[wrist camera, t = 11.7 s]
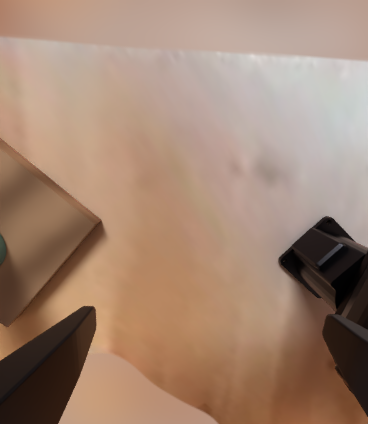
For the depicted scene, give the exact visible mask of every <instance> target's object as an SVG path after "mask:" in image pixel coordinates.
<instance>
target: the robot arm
mask: <svg viewBox="0 0 368 424" xmlns="http://www.w3.org/2000/svg"><path fill="white" fill-rule="evenodd" d="M327 220H329V222H328V223H327V224H326V222H327ZM284 259H286V261H284V262H283V260H284ZM279 262H280V264H281V265H282V266H284V267H285V268H286V269H287V270H288V271H289V272H290V273H291V274H292V275H293V276H294V277H295V278H296V279H298V280H299V281H300V282H301V283H302V284H303V285H304V286H305V287H306V288H307V289H308V290H309V291H310V292H312V293H313V294H314V295H315V296H316V297H317V298H323V299H324V300H325V301H326V302H327V303H328V304H329V305H330V306H331V307H332V308H333V309H334V310H335V311H336V313H335V314H329V315H327V316H326V319H325V323H324V327H323V331H322V334H323V338H324V340H325V342H326V344H327V346H328V348H329V351H330V353H331V355H332V356H333V359H334V361H335V363H336V366H335V369H336V371H337V373H338V375H339V376H340V377H341V378H342V379H343V381H344V383H345V384H346V386H347V387H348V388H349V390H350V391H351V392H352V393H353V394H354V395H355V397H356V399H357V400H358V402H359V404H360V405H361V407H362V408H363V410H364V412H365V413H366V415H367V416H368V248H367V247H365V246H363V245H361V244H358V243H356V242H355V241H354V240H353V239H352V238H351V237H350V236H349V235H348V234H347V233H346V232H345V231H344V229H343V228H342V227H341V226H340V225H339V224H338V223H337V222H336V221H335V220H334V219H333V218H331V217H329V216H326V217H323V218H322V219H321V220H320V221H319V222H318V223H317V224H316V225H314V226H313V227H312V228H310V229H309V230H308V231H307V232H306V233H305V234H304V235H303V236H302V237H300V238H299V239H298V240H297V241H296V242H295V243H294V244H293V245H292V246H291V247H290V248H289V249H288V250H287V251H286V252H285V253H284V254H282V255H281V256H280V257H279ZM95 331H96V310H95V307H94V306H83V307H81V308H80V309H78V310H77V311H75V312H74V313H72V314H71V315H69V316H68V317H66V318H65V319H63V320H62V321H60V322H59V323H57V324H55V325H54V326H52V327H51V328H49V329H48V330H46V331H45V332H43V333H42V334H40V335H39V336H37V337H36V338H34V339H33V340H31V341H30V342H28V343H27V344H25V345H24V346H22V347H21V348H19V349H18V350H16V351H14V352H13V353H11V354H10V355H8V356H7V357H5V358H4V359H2V360H1V361H0V424H58V423H59V421H60V418H61V416H62V414H63V412H64V410H65V408H66V405H67V403H68V401H69V399H70V397H71V394H72V392H73V390H74V388H75V386H76V383H77V381H78V379H79V376H80V374H81V371H82V368H83V365H84V363H85V360H86V357H87V354H88V351H89V348H90V345H91V342H92V339H93V337H94V334H95Z"/></svg>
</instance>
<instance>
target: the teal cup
mask: <svg viewBox="0 0 368 424" xmlns="http://www.w3.org/2000/svg"><path fill="white" fill-rule="evenodd" d="M5 257H6V246H5V242H4V240H3V238H2V236H1V235H0V266H1V264H2V263H3V262H4V260H5Z"/></svg>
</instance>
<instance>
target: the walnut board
mask: <svg viewBox="0 0 368 424" xmlns="http://www.w3.org/2000/svg"><path fill="white" fill-rule="evenodd" d="M100 221H101V219H99V218H98V217H97V216H96V215H94V214H93V213H92V212H91V211H90V210H88V209H87V208H86V207H85V206H83V205H82V204H81V203H80V202H78V201H77V200H76V199H75V198H73V197H72V196H71V195H70V194H69V193H67V192H66V191H65V190H64V189H62V188H61V187H60V186H59V185H57V184H56V183H55V182H54V181H52V180H51V179H50V178H49V177H48V176H46V175H45V174H44V173H43V172H41V171H40V170H39V169H38V168H36V167H35V166H34V165H33V164H32V163H30V162H29V161H28V160H27V159H25V158H24V157H23V156H22V155H20V154H19V153H18V152H17V151H15V150H14V149H13V148H12V147H11V146H9V145H8V144H7V143H6V142H4V141H3V140H2V139H1V138H0V235H1V236H2V238H3V240H4V242H5V246H6V257H5V260H4V262H3V263H2V264H1V266H0V323H1V324H3V325H4V326H6V327H8V326H9V325H11V324H12V323H13V322H14V321H15V320H16V319H17V318H18V317H19V316H20V315H21V313H22V312H23V311H24V310H25V309H26V308H27V306H28V305H29V304H30V303H31V302H32V301H33V299H34V298H35V297H36V296H37V295H38V294H39V292H40V291H41V290H42V289H43V288H44V286H45V285H46V284H47V283H48V282H49V281H50V279H51V278H52V277H53V276H54V275H55V274H56V272H57V271H58V270H59V269H60V268H61V267H62V265H63V264H64V263H65V262H66V261H67V260H68V258H69V257H70V256H71V255H72V254H73V253H74V251H75V250H76V249H77V248H78V247H79V246H80V244H81V243H82V242H83V241H84V240H85V239H86V237H87V236H88V235H89V234H90V233H91V232H92V230H93V229H94V228H95V227H96V226H97V224H98V223H99V222H100Z"/></svg>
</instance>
